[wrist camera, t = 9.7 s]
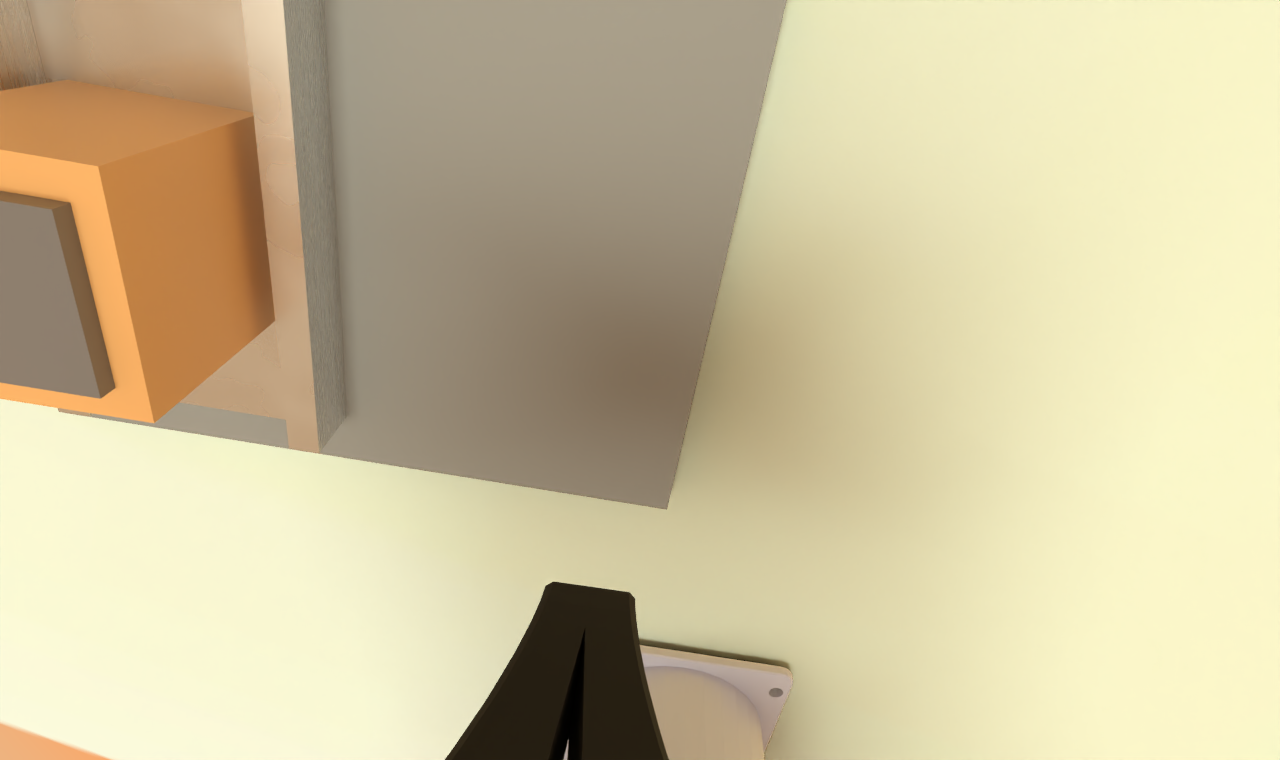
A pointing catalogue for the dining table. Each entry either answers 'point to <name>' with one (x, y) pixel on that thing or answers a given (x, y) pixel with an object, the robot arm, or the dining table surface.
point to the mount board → (530, 232)
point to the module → (125, 247)
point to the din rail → (287, 154)
